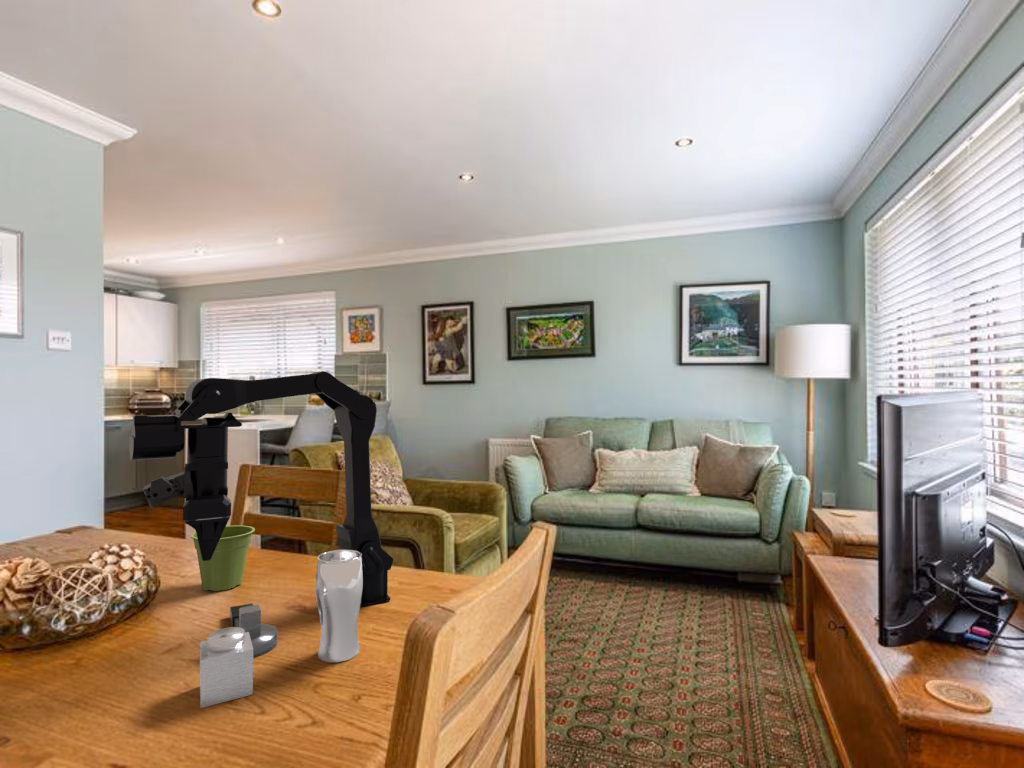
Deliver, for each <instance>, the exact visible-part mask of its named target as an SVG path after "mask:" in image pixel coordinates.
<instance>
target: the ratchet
mask: <svg viewBox="0 0 1024 768" xmlns="http://www.w3.org/2000/svg"><path fill="white" fill-rule="evenodd" d="M229 610H230V611H229V619H230V624H231V627H240V628H243V629H244V630H245V633H246V632H249V635H250V638H251V642H252V646H253V659H254V658H257V657H261V656H263V655H265V654H268V653H269V652H271V651H273V650H274V649H275V648H276V647H277V645H278V628H277V627H276V626H274V625H273V624H269V623H261V621H262V619H261V618H262V614H261V611H262V610H261V607H260V604H254V603H245V604H239V605H236V606H230V607H229Z"/></svg>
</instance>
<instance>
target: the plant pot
mask: <svg viewBox="0 0 1024 768" xmlns="http://www.w3.org/2000/svg"><path fill="white" fill-rule="evenodd" d="M255 531H256V529H255V527H253V526H249V525H226V527H225V529H224V531H223V533H222V535H221V538H220V540H219V542H218V544H217V547H216V549H215V551H214V553H213V556H212V558H211V560H208V561H203V560H202V556H201V552H200V547H199V543H198V538H197V534H196V531H194V532H192V533H191V534H190V538H191V539H192V541H193V545H194V548H195V550H196V555H197V561H198V568H199V575H200V581H201V587H202V590H204V591H209V590H210V591H213V592H222V591H225V590H226V591H227V589H228V590H231V588H232V589H234V588H235V587H236V586H240V585H241V584H242V583H243V577H244V572H245V567H246V560H247V555H248V550H249V545H250V543H251V539H252V535H253V533H254V532H255ZM221 590H222V591H221Z"/></svg>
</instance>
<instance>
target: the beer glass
mask: <svg viewBox="0 0 1024 768" xmlns="http://www.w3.org/2000/svg"><path fill="white" fill-rule="evenodd" d="M316 560H317V562H316V571H315V597H316V605H317V611H318V617H319V622H320V623H319V624H320V640H319V641H320V642H319V646H318V647H319V648H318V653H317V658H318V659H319V660H321V661H322V662H324V663H328V664H329V663H331V664H333V663H334V664H335V663H343V662H346V661H349V660H352V659H353V658H355V657H356V656H357V655H358V654H359V652H360V642H359V637H358V619H359V614H360V608H361V607H360V604H361V598H362V590H363V568H362V553H361V552H359V551H356V550H340V549H335V550H334V549H333V550H329V551H326V552H323V553H320V554H319V555H318V556H317V559H316Z"/></svg>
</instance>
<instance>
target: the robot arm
mask: <svg viewBox="0 0 1024 768" xmlns="http://www.w3.org/2000/svg"><path fill="white" fill-rule="evenodd" d="M311 394H313V395H316V396H317V397H318V398H319V399H320V400H321V401H322V402H323V403H324V405H325V406H327V407H328V408H330V409H331V410H332V411H333V412H334V417H335V421H336V426H337V429H338V432H339V434H340V435H341V438H342V440H343V449H344V451H343V454H344V476H345V478H344V479H345V480H344V481H345V505H346V514H345V519H344V520H343V523H342V524H337V525H335V530H336V531H335V532H336V536H337V538H336V543H335V546H337V547H338V548H339V550H356V551H359V552H361V553H362V568H363V590H362V598H361V604H360V608H361V607H365V606H369V605H374V604H375V605H376V604H380V603H383V602H389V601H391V596H390V595H389V594H388V589H389V588H388V585H389V584H388V581H389V579H388V577H389V575H388V574H389V571H390V570H392V566H393V562H394V558H393V557H392V556H391V555H390V554H389V553H387V552H386V551H385V550H384V549H383V548H382V542H381V536H380V531H379V529H378V526H377V524H376V522H375V520H374V517H373V513H372V489H371V461H370V440H371V437H372V434H373V432H374V429H375V426H376V419H377V410H378V409H377V404H376V402H375V401H374V400H373V399H372V398H371V397H370V396H368V395H365V394H364V395H363V394H360V393H359V392H357V391H356V390H355V389H354V388H352V387H351V386H349V385H347V384H345V383H343V382H342V381H340V380H339V379H338V378H337V377H336V376H334V375H333V374H332V373H330V372H329V371H326V370H325V371H315V372H312V373H306V374H298V375H297V374H296V375H288V376H280V377H272V378H271V377H269V378H260V379H251V380H250V379H236V378H221V377H209V378H208V377H207V378H201V379H200V378H199V379H197V380H195V381H192V382H191V384H189V386H188V387H187V388H186V390H185V397H184V398H185V399H184V400H183V402H181V404H180V405H179V406H178V407H177V408H176V409H175V410H174V412H173V413H171V415H145V414H134V415H133V416H132V423H131V424H132V425H131V432H130V435H129V439H128V440H129V442H128V443H129V446H128V449H129V459H130V461H144V460H146V461H147V460H160V459H161V460H163V459H175V458H176V456H177V453H181V452H182V451H184V449H185V441H186V440H187V442H186V443H187V446H186V448H187V449H186V453H187V454H186V463H185V464H184V468H183V471H181V472H178V473H175V474H172V475H170V476H167V477H165V476H163V475H161V476H160V477H159V478H156V479H151V482H150V483H148V484H146V485H144V487H143V488H142V492H143V493H144V495H145V499H146V500H147V503H148V504H149V507H150V508H151V509H152V508H156V507H158V506H161V505H162V504H163V503H165V502H168V501H171V500H173V499H175V498H178V497H180V496H183V499H185V502H184V503H183V506H182V521H183V523H184V524H186V525H188V526H190V527H191V528H193V530H195V532H196V534H197V538H198V543H199V547H200V552H201V556H202V560H203V561H208V560H211V558H212V556H213V553H214V551H215V549H216V547H217V544H218V542H219V540H220V538H221V535H222V533H223V531H224V529H225V527H226V526H228V525H227V524H228V522H229V521H230V518H231V516H232V502H231V499H230V498H229V497H228V495H229V487H228V469H229V462H228V453H229V448H228V447H229V428H240V427H242V426H243V423H242V422H241V421H240V420H238V419H237V418H236V417H235V416H234V414H233V413H232V412H227V411H230V410H233V409H234V410H235V409H237V408H239V407H242V406H244V405H247V404H250V403H253V402H259V401H260V402H261V401H267V400H274V399H281V398H282V399H283V398H289V397H296V396H297V397H298V396H304V395H311ZM223 412H225V414H224V415H223V416H218V417H217V416H215V417H212V416H211V417H210V416H209V417H204V416H206V415H207V414H208V415H216V414H217V415H218V414H219V413H223ZM200 418H202V420H201V423H190V424H189V423H188V424H183V423H182V422H195V421H197V420H199V419H200ZM185 429H187V436H186V435H185ZM186 437H187V439H185V438H186Z"/></svg>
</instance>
